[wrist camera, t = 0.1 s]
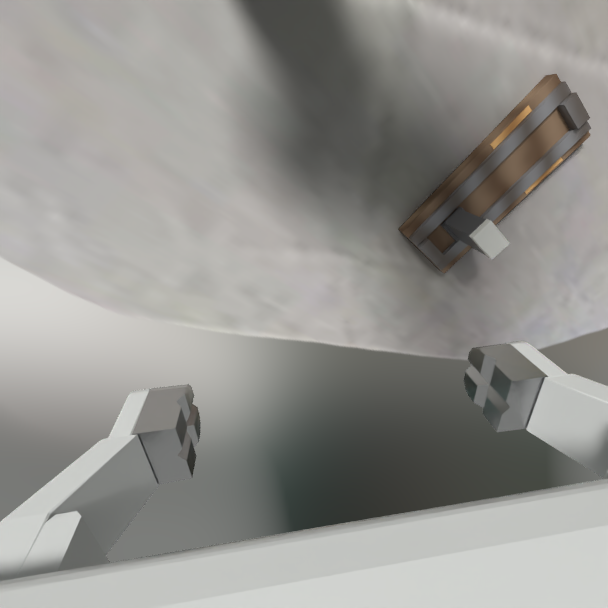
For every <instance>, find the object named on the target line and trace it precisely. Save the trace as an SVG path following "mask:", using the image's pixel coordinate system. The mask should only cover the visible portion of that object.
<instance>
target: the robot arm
mask: <svg viewBox="0 0 608 608" xmlns="http://www.w3.org/2000/svg"><path fill="white" fill-rule="evenodd" d="M468 360H469V362H470V363H471V366H470V367H469V368H468V369H467V370H466V371H465V376H464V384H465V389H466V392H467V394H468V396H469V397H470V398H471V400H472V401H473V402H474V403H475V404H477V405H479V406H481V407H483V415H484V416H485V418H486V419H487V420H488V421H489V423H490V424H491V425H492V426H493V428H494V429H495V430H496V431H497V432H501V431H509V430H518V429H526V428H527V429H526V430H527V431H529V432H530V433H532V434H533V435H535V436H537V437H538V438H540V439H542V440H543V441H545V442H546V443H548V444H549V445H551V446H553V447H554V448H556V449H558V450H559V451H561V452H562V453H564V454H565V455H567V456H569V457H570V458H572V459H573V460H575V461H577V462H578V463H580V464H581V465H583V466H585V467H586V468H588V469H590V470H591V471H593V472H594V473H596V474H597V475H599V476H601V477H602V480H597V481H590V482H584V483H578V484H572V485H566V486H560V487H554V488H549V489H543V490H537V491H531V492H525V493H519V494H513V495H508V496H502V497H496V498H490V499H484V500H479V501H473V502H467V503H461V504H455V505H450V506H444V507H437V508H432V509H426V510H420V511H414V512H407V513H401V514H396V515H390V516H384V517H378V518H372V519H366V520H360V521H354V522H348V523H342V524H336V525H330V526H325V527H318V528H312V529H306V530H300V531H294V532H288V533H282V534H277V535H271V536H265V537H259V538H254V539H247V540H242V541H235V542H229V543H223V544H218V545H211V546H206V547H200V548H194V549H188V550H182V551H176V552H170V553H164V554H158V555H152V556H146V557H141V558H134V559H128V560H123V561H117V562H111V563H110V561H109V560H108V558H107V557H106V554H107V553H108V552H109V551H110V549H111V548H112V546H113V545H114V544H115V542H116V541H117V540H118V539H119V537H120V536H121V535H122V533H123V532H124V531H125V530H126V528H127V527H128V526H129V524H130V523H131V522H132V520H133V519H134V518H135V517H136V515H137V513H139V511H140V510H141V509H142V507H143V506H144V505H145V503H146V502H147V501H148V500H149V498H150V497H151V496H152V494H153V493H154V492H155V490H156V489H157V488H158V484H163V483H169V482H174V481H180V480H185V479H191V478H192V477H193V471H194V466H195V460H196V453H195V450H194V447H195V446H196V444H197V443H198V442H199V438H200V416H199V412H198V408H197V407H196V406H195V405H193V404H192V403H193V398H194V394H193V390H192V387H191V386H190V385H189V384H188V385H178V386H169V387H160V388H152V389H144V390H135V391H132V392H131V393H130V394H129V395H128V397H127V399H126V402H125V404H124V406H123V408H122V410H121V412H120V414H119V416H118V418H117V421H116V423H115V425H114V427H113V429H112V431H111V433H110V435H109V437H108V438H107V439H102V440H100V442H98V443H97V444H96V445H94V446H93V447H92V448H91V449H89V450H88V451H87V452H86V453H84V454H83V455H82V456H81V457H80V458H79V459H77V460H76V461H75V462H74V463H72V464H71V465H70V466H68V467H67V468H66V469H65V470H64V471H63V472H61V473H60V474H59V475H57V476H56V477H55V478H54V479H52V480H51V481H50V482H49V483H48V484H46V485H45V486H44V487H43V488H41V489H40V490H39V491H38V492H36V493H35V494H34V495H33V496H32V497H30V498H29V499H28V500H27V501H25V502H24V503H23V504H22V505H21V506H19V507H18V508H17V509H15V510H14V511H13V512H12V513H11V514H9V515H8V516H7V517H6V518H4V519H3V520H2V521H1V522H0V608H608V386H605V385H603V384H600V383H597V382H594V381H592V380H589V379H586V378H583V377H580V376H578V375H575V374H567V373H565V372H564V371H563V370H561V369H560V368H559V367H558V366H557V365H555V364H554V363H553V362H551V361H550V360H549V359H548V358H546V357H545V356H544V355H543V354H541V353H540V352H539V351H538V350H536V349H535V348H534V347H532V346H531V345H530V344H529V343H527V342H524V341H516V342H509V343H505V344H498V345H491V346H484V347H476V348H472V349H471V351H470V352H469V356H468Z"/></svg>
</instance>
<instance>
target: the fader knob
mask: <svg viewBox="0 0 608 608" xmlns="http://www.w3.org/2000/svg"><path fill="white" fill-rule="evenodd" d="M441 226H442V228H443V229H444V230H445V231H446V232H447V233H448V234H449V235H450V236H451V237H452V238H453V239H454V240H455V241H457V242H458V241H459V240H461V242H463V243H465V244H467V245H469V246H470V247H472V248H474V249H476V250H478V251H479V252H481V253H483V254H485V255H486V256H487V257H488V258H490V259H493V258H495V257H496V256H497V255H498V254H499V253H500V252H501V251H502V250H503V249H504V248H506V247H507V246H508V245H509V244H510V243H509V242H508V240H507V239H506V238H505V237H504V236H503V234H502V233H501V232H500V231H499V230H498V228H497V227H496V226H495V225H494V223H493V222H492V221H491V220H488V219H483V218H481V217H478V216H476V215H473V214H471V213H469V212H466V211H465V210H464V209H463V208H461V207H458V208H457V209H456V210H455V211H454V212H453V213H452V214H451V215H450V216H449V217H448V218H447V219H446V220H445V221H444V222H443V223H442V224H441Z"/></svg>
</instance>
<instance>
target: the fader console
mask: <svg viewBox="0 0 608 608" xmlns="http://www.w3.org/2000/svg"><path fill="white" fill-rule="evenodd" d="M589 118H590V117H589V115H588V113H587V111H586V109H585V108H584V106H583V104H582V102H581V100H580V98H579V97H578V95H577V93H571V91H570V89H569V87H568V85H567V84H566V82H561V81H560V80H559V78H558V76H557V74H552V75H546V76H545V77H544V78H543V79H542V80H541V81H540V82H539V83H538V84H537V85H536V86H535V87H534V88H533V89H532V91H531V92H530V93H529V94H528V95H527V96H526V97H525V98H524V99H523V100H522V101H521V102H520V103H519V104H518V105H517V106H516V107H515V108H514V109H513V110H512V111H511V112H510V113H509V114H508V115H507V117H506V118H505V119H504V120H503V121H502V122H501V123H500V124H499V125H498V126H497V127H496V128H495V129H494V130H493V131H492V132H491V133H490V134H489V135H488V136H487V137H486V138H485V139H484V140H483V142H482V143H481V144H480V145H479V146H478V147H477V148H476V149H475V150H474V151H473V152H472V153H471V154H470V155H469V156H468V157H467V158H466V159H465V160H464V161H463V162H462V163H461V164H460V165H459V167H458V168H457V169H456V170H455V171H454V172H453V173H452V174H451V175H450V176H449V177H448V178H447V179H446V180H445V181H444V182H443V183H442V184H441V185H440V186H439V187H438V188H437V189H436V190H435V192H434V193H433V194H432V195H431V196H430V197H429V198H428V199H427V200H426V201H425V202H424V203H423V204H422V205H421V206H420V207H419V208H418V209H417V210H416V211H415V212H414V213H413V214H412V215H411V217H410V218H409V219H408V220H407V221H406V222H405V223H404V224H403V225H402V226H401V227H400V228H399V230H400V231H401V232H402V233H403V234H404V235H405V236H406V237H407V238H408V239H409V240H410V241H411V242H412V243H413V244H414V245H415V246H416V247H417V248H418V249H419V250H420V251H421V252H422V253H423V254H424V255H425V256H426V257H427V258H428V259H429V260H430V261H431V262H432V263H433V264H434V265H435V266H436V267H437V268H438V269H439V270H440V271H441V272H443V273H445V272H446V271H448V270H449V269H450V268H451V267H452V266H453V265H454V264H455V263H456V262H457V261H458V260H459V259H460V258H461V257H462V256H463V255H464V254H466V253H467V252H468V251H469V250H470V249H471V248H472V247H470V246H469V245H467V244H465V243H463V242H461V240H459V241H458V242H457V241H455V240H454V239H453V238H452V237H451V236H450V235H449V234H448V233H447V232H446V231H445V230H444V229H443V228H442V226H441V224H442V223H443V222H444V221H445V220H446V219H447V218H448V217H449V216H450V215H451V214H452V213H453V212H454V211H455V210H456V209H457V208H458V207H461V208H463V209H464V210H465V211H466V212H469V213H471V214H473V215H476V216H478V217H481V218H483V219H488V220H491V221H492V222H493V223H494V225H496V224H497V223H498V222H499V221H500V220H502V219H503V218H504V217H505V216H506V215H507V214H508V213H509V212H510V211H511V210H512V209H513V208H514V207H515V206H516V205H517V204H518V203H519V202H521V201H522V200H523V199H524V198H525V197H526V196H527V195H528V194H529V193H530V192H531V191H532V190H533V189H534V188H535V187H536V186H537V185H539V184H540V183H541V182H542V181H543V180H544V179H545V178H546V177H547V176H548V175H549V174H550V173H551V172H552V171H553V170H554V169H555V168H557V167H558V166H559V165H560V164H561V163H562V162H563V161H564V160H565V159H566V158H567V157H568V156H569V155H570V154H571V153H572V152H573V151H575V150H576V149H577V148H578V147H579V146H580V145H581V144H582V143H583V142H584V141H585V140H586V139H587V138H588V137H589V136H590V133H589V130H590V129H591V127H590V125H589V123H588V122H587V120H588V119H589Z"/></svg>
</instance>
